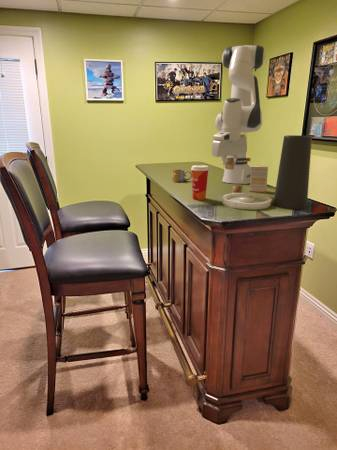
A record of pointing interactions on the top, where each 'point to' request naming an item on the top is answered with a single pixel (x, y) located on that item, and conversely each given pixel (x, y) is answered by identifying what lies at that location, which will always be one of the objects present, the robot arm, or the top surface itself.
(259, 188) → the supplement box
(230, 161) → the tan egg
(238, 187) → the brown egg
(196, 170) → the coffee cup
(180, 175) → the mug
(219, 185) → the top surface
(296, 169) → the vase
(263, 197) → the tray
